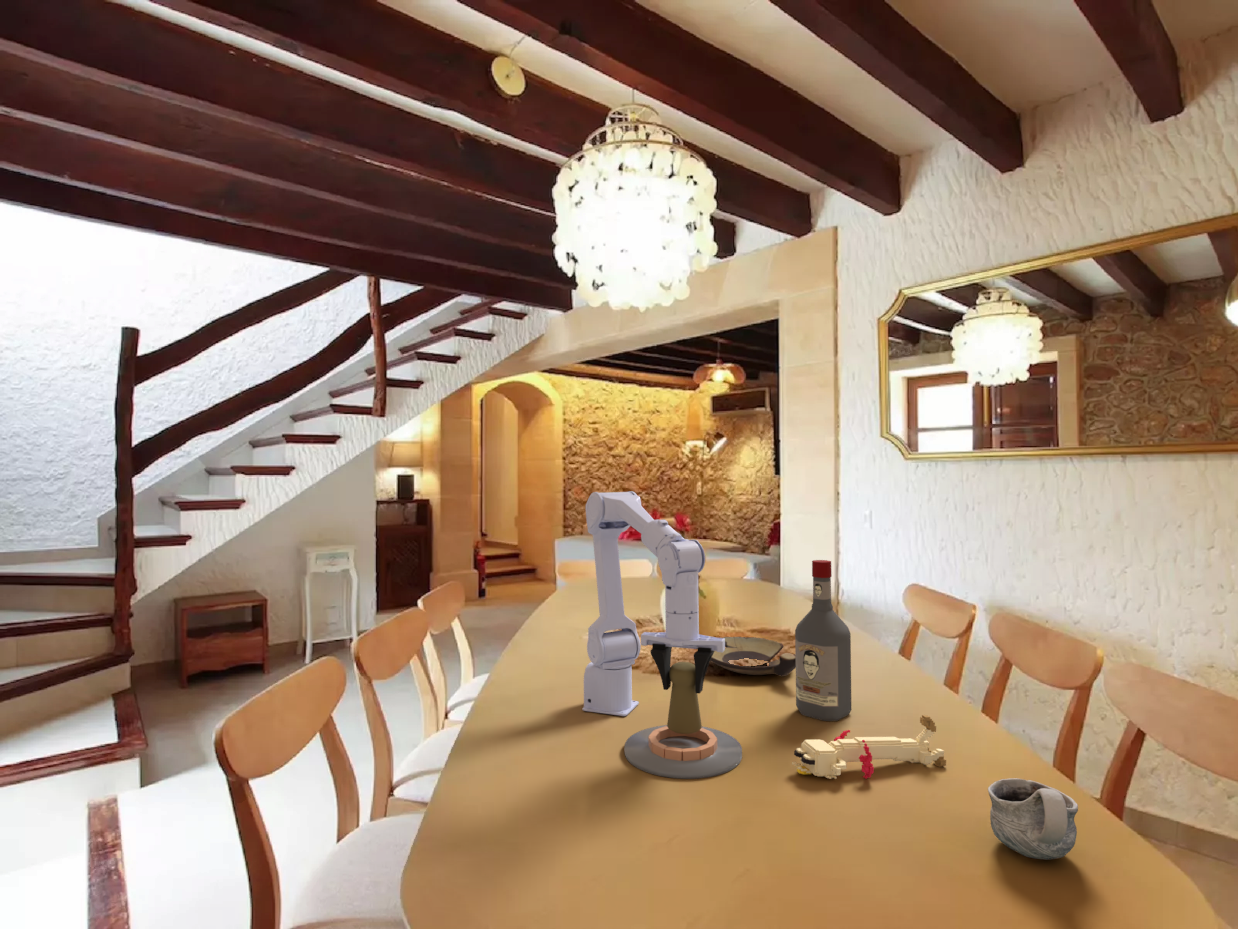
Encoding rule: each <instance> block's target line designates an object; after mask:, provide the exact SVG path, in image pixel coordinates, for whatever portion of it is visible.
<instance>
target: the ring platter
mask: <svg viewBox="0 0 1238 929" xmlns="http://www.w3.org/2000/svg"><path fill="white" fill-rule="evenodd" d="M624 756H625V759H626V760H627V761H628V763H629V764H630V765H632V766H633V767H635V768H636V769H638V770H640V771H643V772H645V773H648V774H651V775H655V776H658V777H663V778H670V779H681V780H682V779H683V780H688V779H689V780H690V779H691V780H692V779H693V780H694V779H695V780H696V779H704V778H711V777H717V776H719V775H723V774H725V773H728V772H730V771H732V770H733V769H735V768H736V767H737V766H739V765H740V763H741V762H742V759H743V747H742V744H740V742H739V741H738V740H737V739H736V738H734V737H733V736H732V735H730V734H728V733H726V732H723V731H722V730H718V729H714V728H711V727H706V726H702V728H701V729H700V730H699V731H698V732H695V733H690V734H681V733H676V732H673V731H671V730H670V729H669V728H668V727H667V724H665V725H663V724H662V725H657V726H651V727H648V728H645V729H641V730H639V731H637V732H635V733H633V734H632V735H630V736H629V737H628V738H627V740H626V741H625V743H624Z"/></svg>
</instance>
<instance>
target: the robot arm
mask: <svg viewBox="0 0 1238 929" xmlns="http://www.w3.org/2000/svg"><path fill="white" fill-rule="evenodd" d="M585 520H586V527H587V533H589V534H590V535H591V536H592V542H593V552H594V553H593V554H594V555H593V556H594V564H595V575H596V578H595V579H596V587H597V588H596V590H597V599H598V610H599V616H598V617H597V619H596V620H594V622H593V623H592V624H590V626H589V627H588V628H587V629H588V630H587V632H588V634H587V644H586V651H587V656H588V658H589V661H590V662H589V663H587V665H586V667H585V669H584V674H583V707H582V711H584V712H592V713H596V714H597V713H598V714H605V715H614V716H622V717H626V716H628V715H629V714H630V713H631V712H632V711H633V710H634V709H635V708H636V707H637V706H638V705H639V704H640V702H639V700H638V701H637V700H633V687H632V686H633V681H632V680H633V676H632V675H633V674H632V671H633V670H632V669H633V668H632V666H633V665H635V664H636V661H635V660H637V658H638V657H639V656H640V652H641V650H642V649H641V648H642V647H641V646H645V647H646V646H652V647H651V649H650V650H649V651H650V655H651V657H652V659H653V660H654V663H655V665H656V667H657V669H658V673H659V674H660V678H661V683H662V687H663V690H665V691H669V689H670V688H672V682H671V680H670V677H669V671H670V668H671V658H672V649H673V648H679V649H680V648H683V649H691V650H692V649H693V650H696V651H695V652H694V653H693V661H694V665H695V672H696V680H695V691H696V693H697V694H701V692H702V691H703V690H704V689H703V687H704V681H705V678H706V677H705V676H706V673H707V671H708V667H709V665H710V662H711V661H710V660H711V658H712V655H713V653H714V651H717V652H723V651H724V650H725V648H726V647H725V638H723V637H715V636H711V635H710V636H709V635H703V634H700V626H699V624H700V622H699V619H700V618H699V615H700V614H699V612H700V611H699V609H700V608H699V606H700V605H699V602H700V601H699V573H701V572H702V571H703V569H704V567H705V564H706V554H705V553H706V552H705V549H704V548H703V546H702V544H701V543H700V542H699V540H697V539H694V538H693V539H688V538H684V537H683V536H682V534H681V533H680V532H677V531H676V530H675V529H674V528H672V526H671V525H669V522H668V520H667V519H654V518H653V517H652V515H650V513H649V512H648V511H647V510H646V509H645V508H644V507H643V506H642V500H641V497H640V495H637V493H636V492H635V491H632V490H631V491H630V490H629V491H628V490H627V491H617V492H616V491H613V492H610V491H609V492H608V491H607V492H598V491H593V492H592V493H590V495H589V497H588V498H587V501H586V503H585ZM630 527H632V528H633V529H634V530H636V531H637V532H638V533H640V540H641V543H642V544H643V546H645V548H647V549H648V550H649V551H650V552H651V553H652V554H653V555H654V556H655V557H656V559H657V563H658V567H659V569H660V572H661V581H662V584H663V585H664V587H665V589H664V591H665V597H664V598H665V603H664V604H665V605H664V606H665V631H663V632H658V631H657V632H656V631H653V632H649V631H643V632H642V633H641V634H640V636H639V634H638V630H637V624H636V623H635V621H633V620H632V619H630V617H628V616H627V615H626V614H625V605H624V596H623V585H622V575H621V563H620V562H621V561H620V553H619V542H618V540H619V537H620V535H621V534H622V533H624V532H626V531H627V530H628V529H629V528H630ZM608 631H609V632H608Z"/></svg>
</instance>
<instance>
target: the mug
mask: <svg viewBox="0 0 1238 929" xmlns="http://www.w3.org/2000/svg"><path fill="white" fill-rule="evenodd" d="M987 792H988V795H989V798H990V801H991V808H990V812H989V813H990V815H989V817H990V825H991V826H990V828H991V830H992V832H993V834H994V836H995V837H996V838H997V839H998V840H999V841H1000V842H1001V843H1002V844H1003V845H1005V846H1006V847H1007V848H1009V849H1010V850H1013V851H1014V852H1016V853H1018V854H1020V855H1021V856H1024V857H1027V858H1030V859H1031V858H1032V859H1038V860H1048V861H1050V860H1055V859H1061V858H1063V857H1065V856H1066V855H1067V854H1069V853H1070V852H1071V851H1072V849H1073V848H1074V847H1075V844H1076V841H1077V840H1076V839H1077V833H1078V831H1077V830H1078V829H1077V825H1076V823H1075V817H1076V814H1077V813H1078V811H1079V804H1078V803H1077V802H1076V801H1075V799H1073V798H1072V797H1071V796H1069V795H1067V794H1066V793H1063V792H1062V791H1060V790H1059V789H1057V788H1054V787H1051V786H1049V785H1046V784H1044V783H1042V782H1038V781H1036V780H1035V781H1034V780H1031V779H1028V780H1027V779H1025V778H1024V779H1023V778H1016V777H1015V778H1001V779H999V780H996V781H994V782H993V783H991V784H990V785H988V788H987Z"/></svg>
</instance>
